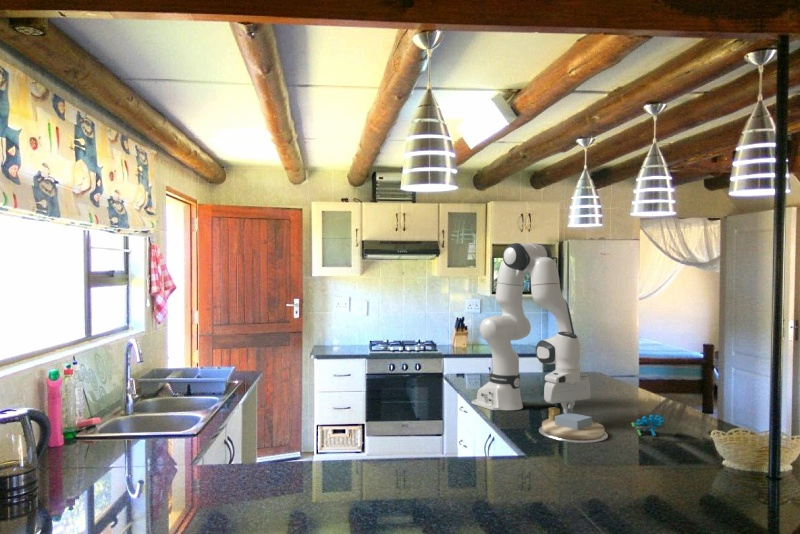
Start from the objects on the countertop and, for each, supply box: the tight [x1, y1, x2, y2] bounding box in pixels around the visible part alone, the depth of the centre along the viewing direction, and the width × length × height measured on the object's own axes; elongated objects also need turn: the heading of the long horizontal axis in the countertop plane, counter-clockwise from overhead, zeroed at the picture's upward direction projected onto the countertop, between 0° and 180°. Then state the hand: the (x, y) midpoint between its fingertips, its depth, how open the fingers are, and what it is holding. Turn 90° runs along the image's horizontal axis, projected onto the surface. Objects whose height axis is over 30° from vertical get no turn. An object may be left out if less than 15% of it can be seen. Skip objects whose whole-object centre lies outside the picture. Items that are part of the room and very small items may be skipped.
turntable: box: [541, 407, 606, 440], centre depth 187 cm, size 21×21×6 cm
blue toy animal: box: [631, 414, 665, 437], centre depth 185 cm, size 11×6×10 cm
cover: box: [555, 412, 593, 430], centre depth 187 cm, size 9×9×3 cm
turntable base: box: [538, 426, 609, 444], centre depth 187 cm, size 23×23×1 cm
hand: (568, 413), depth 198 cm, fingers closed
